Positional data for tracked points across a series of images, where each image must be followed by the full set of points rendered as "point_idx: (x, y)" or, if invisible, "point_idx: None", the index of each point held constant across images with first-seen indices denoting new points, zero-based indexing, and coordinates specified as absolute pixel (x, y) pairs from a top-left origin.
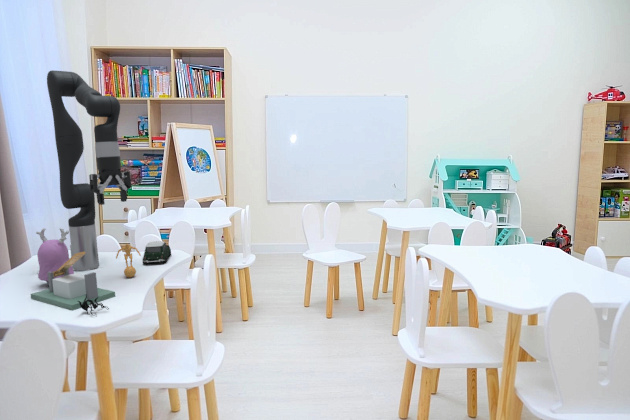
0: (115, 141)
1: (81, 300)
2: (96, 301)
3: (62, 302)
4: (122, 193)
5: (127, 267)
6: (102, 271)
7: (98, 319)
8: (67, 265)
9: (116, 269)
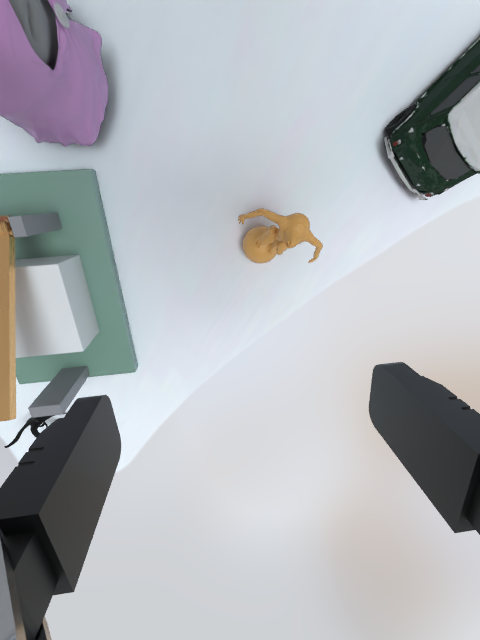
0: None
1: (48, 369)
2: None
3: None
4: (435, 469)
5: (256, 247)
6: (254, 56)
7: None
8: None
9: (299, 86)
